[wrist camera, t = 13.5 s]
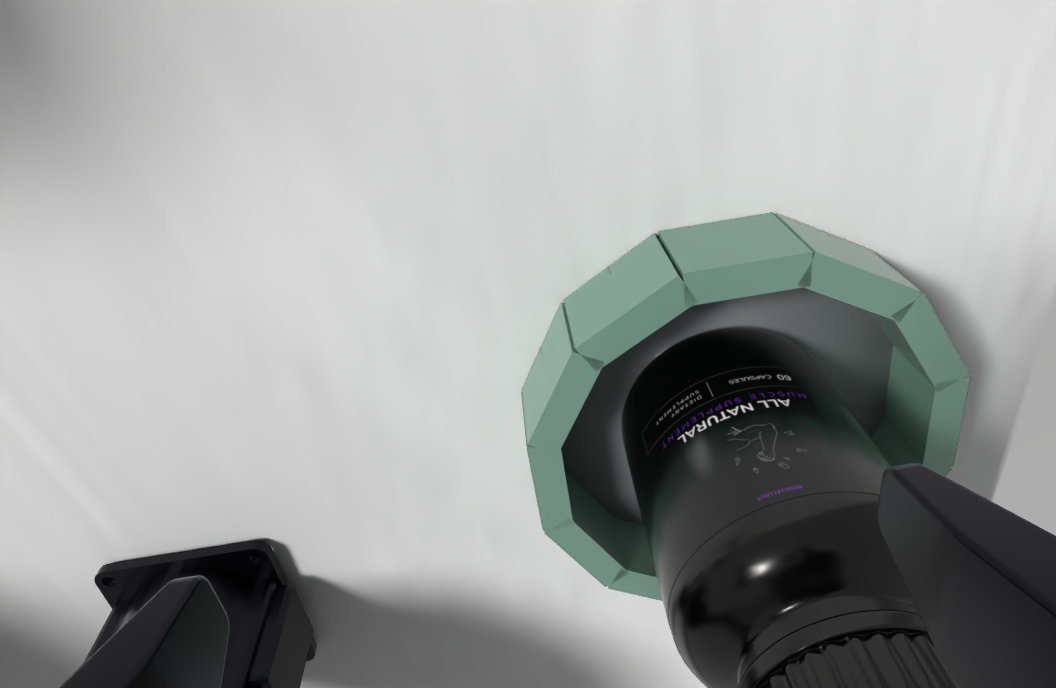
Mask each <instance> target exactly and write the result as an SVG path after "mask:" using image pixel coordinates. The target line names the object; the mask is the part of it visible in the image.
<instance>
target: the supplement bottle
mask: <svg viewBox="0 0 1056 688" xmlns="http://www.w3.org/2000/svg"><path fill="white" fill-rule="evenodd" d="M621 429H622V439H623V444H624V448H625V453H626V457H627V462H628V466H629V470H630V474H631V478H632V482H633V486H634V490H635V494H636V497H637V501H638V505H639V509H640V513H641V517H642V521H643V525H644V529H645V533H646V537H647V541H648V544H649V548H650V552H651V556H652V560H653V564H654V568H655V572H656V576H657V580H658V584H659V587H660V591H661V595H662V599H663V603H664V607H665V611H666V615H667V619H668V623H669V626H670V629H671V632H672V636H673V639H674V642H675V644H676V647H677V650H678V652H679V654H680V656H681V657H682V659H683V661H684V663H685V664H686V665H687V667H688V668H689V669H690V670H691V672H692V673H693V674H694V675H695V676H696V677H697V678H698V679H699V680H700V681H701V682H702V683H703V684H704V685H705V686H706V687H707V688H959V687H958V685H957V683H956V682H955V680H954V678H953V677H952V675H951V673H950V672H949V670H948V668H947V667H946V665H945V663H944V662H943V660H942V658H941V657H940V655H939V653H938V651H937V649H936V648H935V646H934V644H933V642H932V640H931V639H930V637H929V635H928V632H927V630H926V628H925V626H924V624H923V622H922V620H921V618H920V616H919V614H918V611H917V609H916V607H915V605H914V603H913V601H912V598H911V596H910V594H909V592H908V590H907V587H906V585H905V583H904V581H903V579H902V576H901V574H900V572H899V570H898V568H897V566H896V563H895V561H894V559H893V557H892V555H891V552H890V550H889V548H888V546H887V544H886V542H885V539H884V537H883V535H882V533H881V530H880V527H879V523H878V516H877V513H878V504H879V497H880V489H881V482H882V476H883V473H884V471H885V470H886V469H887V468H889V467H892V465H891V463H890V462H889V460H888V459H887V458H886V456H885V455H884V454H883V452H882V451H881V450H880V448H879V447H878V446H877V444H876V443H875V442H874V440H873V439H872V438H871V436H870V435H869V433H868V432H867V431H866V429H865V428H864V427H863V425H862V424H861V423H860V421H859V420H858V419H857V417H856V416H855V415H854V413H853V412H852V411H851V409H850V408H849V406H848V405H847V404H846V402H845V401H844V400H843V398H842V397H841V396H840V394H839V393H838V392H837V390H836V389H835V388H834V386H833V385H832V384H831V382H830V381H829V379H828V378H827V377H826V376H825V374H824V373H823V372H822V371H821V369H820V368H819V367H818V366H817V364H816V363H815V362H814V361H813V359H812V358H811V357H810V356H809V355H808V354H807V353H806V352H805V351H804V350H803V349H802V348H800V347H799V346H798V345H796V344H795V343H793V342H792V341H790V340H788V339H787V338H785V337H782V336H780V335H778V334H775V333H772V332H769V331H766V330H761V329H756V328H747V327H728V328H720V329H714V330H709V331H705V332H702V333H698V334H695V335H693V336H690V337H688V338H685V339H683V340H681V341H679V342H677V343H675V344H674V345H672V346H671V347H669V348H667V349H666V350H664V351H663V352H662V353H660V354H659V355H658V356H657V357H656V358H654V359H653V360H652V361H651V362H650V363H649V364H648V365H647V366H646V367H645V368H644V370H643V371H642V372H641V373H640V375H639V376H638V377H637V379H636V380H635V382H634V383H633V385H632V387H631V389H630V391H629V393H628V395H627V398H626V401H625V404H624V408H623V413H622V421H621Z"/></svg>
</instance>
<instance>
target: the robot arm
mask: <svg viewBox="0 0 1056 688" xmlns="http://www.w3.org/2000/svg"><path fill="white" fill-rule="evenodd" d="M877 516H878V523H879V527H880V530H881V533H882V535H883V537H884V539H885V542H886V544H887V546H888V548H889V550H890V552H891V555H892V557H893V559H894V561H895V563H896V566H897V568H898V570H899V572H900V574H901V576H902V579H903V581H904V583H905V585H906V587H907V590H908V592H909V594H910V596H911V598H912V601H913V603H914V605H915V607H916V609H917V611H918V614H919V616H920V618H921V620H922V622H923V624H924V626H925V628H926V630H927V632H928V635H929V637H930V639H931V640H932V642H933V644H934V646H935V648H936V649H937V651H938V653H939V655H940V657H941V658H942V660H943V662H944V663H945V665H946V667H947V668H948V670H949V672H950V673H951V675H952V677H953V678H954V680H955V682H956V683H957V685H958V687H959V688H1056V536H1055V535H1053V534H1051V533H1049V532H1047V531H1045V530H1044V529H1042V528H1040V527H1038V526H1036V525H1034V524H1032V523H1030V522H1028V521H1027V520H1025V519H1023V518H1021V517H1019V516H1017V515H1015V514H1014V513H1012V512H1010V511H1008V510H1006V509H1004V508H1002V507H1001V506H999V505H997V504H995V503H993V502H991V501H989V500H988V499H986V498H984V497H982V496H980V495H978V494H976V493H974V492H973V491H971V490H969V489H967V488H965V487H963V486H961V485H960V484H958V483H956V482H954V481H952V480H950V479H948V478H946V477H945V476H943V475H941V474H939V473H937V472H935V471H933V470H931V469H930V468H928V467H926V466H924V465H921V464H918V463H911V464H905V465H898V466H892V467H889V468H887V469H886V470H885V471H884V473H883V476H882V482H881V489H880V497H879V504H878V513H877ZM255 554H259V555H255ZM94 581H95V583H96V585H97V587H98V588H99V590H100V591H101V593H102V594H103V596H104V597H105V599H106V600H107V601H108V603H109V604H110V606H111V607H112V611H111V613H110V615H109V617H108V618H107V620H106V622H105V624H104V626H103V628H102V630H101V632H100V633H99V635H98V637H97V639H96V641H95V643H94V645H93V646H92V648H91V650H90V652H89V654H88V656H87V658H86V660H85V661H84V663H83V665H82V666H81V667H80V668H79V669H78V670H77V671H76V672H75V673H73V674H72V675H71V676H70V677H69V678H68V679H67V680H66V681H65V682H64V683H63V684H62V685H61V686H60V687H59V688H300V685H301V680H302V676H303V672H304V667H305V663H306V662H307V661H310V660H312V659H313V658H314V656H315V653H316V648H317V644H316V641H315V639H314V637H313V635H312V633H313V628H312V625H311V623H310V621H309V619H308V617H307V615H306V613H305V610H304V608H303V606H302V604H301V602H300V600H299V598H298V595H297V593H296V591H295V589H294V588H293V587H292V586H291V585H289V584H288V582H287V580H286V578H285V575H284V573H283V571H282V569H281V567H280V565H279V563H278V561H277V558H276V556H275V554H274V552H273V550H272V548H271V547H270V545H268V544H267V543H265V542H262V541H250V542H244V543H237V544H231V545H225V546H218V547H212V548H206V549H199V550H193V551H187V552H180V553H174V554H168V555H162V556H155V557H149V558H143V559H136V560H130V561H124V562H117V563H111V564H106V565H103V566H102V567H101V568H100V570H99V571H98V573H97V575H96V576H95V580H94Z"/></svg>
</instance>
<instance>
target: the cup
mask: <svg viewBox="0 0 1056 688" xmlns="http://www.w3.org/2000/svg"><path fill="white" fill-rule="evenodd" d="M658 237H659V238H657V237H656V235H655V234H652V235H651V236H650V237H648V238H647V239H646V240H644V241H643V242H642V243H640V244H639V245H637V246H636V247H635V248H633V249H632V250H631V251H629V252H628V253H627V254H625V255H624V256H622V257H621V258H620V259H618V260H617V261H616V262H614V263H613V264H612V265H610V266H609V267H607V268H606V269H605V270H603V271H602V272H601V273H599V274H598V275H597V276H595V277H594V278H592V279H591V280H590V281H588V282H587V283H586V284H584V285H583V286H582V287H580V288H579V289H577V290H576V291H575V292H573V293H572V294H571V295H569V296H568V297H567V298H565V299H564V304H563V303H561V304H560V306H559V308H558V311H557V313H556V315H555V317H554V319H553V322H552V324H551V326H550V328H549V330H548V333H547V335H546V337H545V339H544V341H543V344H542V346H541V348H540V350H539V352H538V355H537V357H536V359H535V361H534V363H533V366H532V368H531V370H530V372H529V374H528V377H527V379H526V381H525V383H524V385H523V388H522V392H521V393H522V403H523V414H524V424H525V434H526V445H527V452H528V457H529V462H530V467H531V472H532V477H533V482H534V488H535V493H536V498H537V503H538V508H539V513H540V518H541V523H542V528H543V530H544V532H545V534H546V535H547V536H548V537H549V538H551V539H552V540H553V541H554V542H555V543H556V544H557V545H558V546H560V547H561V548H562V549H563V550H564V551H565V552H566V553H568V554H569V555H570V556H571V557H572V558H573V559H574V560H575V561H577V562H578V563H579V564H580V565H581V566H582V567H583V568H584V569H586V570H587V571H588V572H589V573H590V574H591V575H592V576H594V577H595V578H596V579H597V580H598V581H599V582H600V583H601V584H603V585H604V586H605V587H606V586H608V589H613V590H617V591H622V592H626V593H630V594H635V595H639V596H644V597H648V598H652V599H657V600H661V601H663V599H662V595H661V591H660V587H659V584H658V580H657V576H656V572H655V568H654V564H653V560H652V556H651V552H650V548H649V544H648V541H647V537H646V533H645V529H644V525H643V521H642V517H641V513H640V509H639V505H638V501H637V497H636V494H635V490H634V486H633V482H632V478H631V474H630V470H629V466H628V462H627V457H626V453H625V448H624V444H623V439H622V429H621V421H622V413H623V408H624V404H625V401H626V398H627V395H628V393H629V391H630V389H631V387H632V385H633V383H634V382H635V380H636V379H637V377H638V376H639V375H640V373H641V372H642V371H643V370H644V368H645V367H646V366H647V365H648V364H649V363H650V362H651V361H652V360H653V359H654V358H656V357H657V356H658V355H659V354H660V353H662V352H663V351H664V350H666V349H667V348H669V347H671V346H672V345H674V344H675V343H677V342H679V341H681V340H683V339H685V338H688V337H690V336H693V335H695V334H698V333H702V332H705V331H709V330H714V329H720V328H728V327H747V328H756V329H761V330H766V331H769V332H772V333H775V334H778V335H780V336H782V337H785V338H787V339H788V340H790V341H792V342H793V343H795V344H796V345H798V346H799V347H800V348H802V349H803V350H804V351H805V352H806V353H807V354H808V355H809V356H810V357H811V358H812V359H813V361H814V362H815V363H816V364H817V366H818V367H819V368H820V369H821V371H822V372H823V373H824V374H825V376H826V377H827V378H828V379H829V381H830V382H831V384H832V385H833V386H834V388H835V389H836V390H837V392H838V393H839V394H840V396H841V397H842V398H843V400H844V401H845V402H846V404H847V405H848V406H849V408H850V409H851V411H852V412H853V413H854V415H855V416H856V417H857V419H858V420H859V421H860V423H861V424H862V425H863V427H864V428H865V429H866V431H867V432H868V433H869V435H870V436H871V438H872V439H873V440H874V442H875V443H876V444H877V446H878V447H879V448H880V450H881V451H882V452H883V454H884V455H885V456H886V458H887V459H888V460H889V462H890V463H891V465H892V466H898V465H905V464H911V463H918V464H921V465H924V466H926V467H928V468H930V469H931V470H933V471H935V472H937V473H939V474H941V475H943V476H946V475H947V474H948V473H949V472H950V470H951V468H950V467H949V466H953V465H954V460H955V455H956V450H957V445H958V439H959V434H960V429H961V424H962V419H963V414H964V409H965V404H966V398H967V393H968V388H969V383H970V378H971V377H970V376H969V374H970V373H969V371H968V369H967V368H966V366H965V364H964V362H963V361H962V359H961V357H960V355H959V353H958V352H957V350H956V348H955V346H954V345H953V343H952V341H951V339H950V338H949V336H948V334H947V332H946V330H945V329H944V327H943V325H942V323H941V322H940V320H939V318H938V316H937V315H936V313H935V311H934V309H933V308H932V306H931V304H930V302H929V300H928V299H927V297H926V295H925V294H924V293H923V292H922V291H920V290H919V289H918V288H917V287H916V286H914V285H913V284H912V283H911V282H909V281H908V280H907V279H906V278H904V277H903V276H902V275H901V274H900V273H898V272H897V271H896V270H895V269H893V268H892V267H891V266H890V265H888V264H887V263H886V262H885V261H884V260H882V259H881V258H880V257H879V256H877V255H876V254H875V253H874V252H872V251H871V250H870V249H868V248H865V247H863V246H860V245H857V244H855V243H852V242H850V241H847V240H844V239H842V238H839V237H837V236H834V235H832V234H829V233H826V232H824V231H821V230H819V229H816V228H813V227H811V226H808V225H806V224H803V223H800V222H798V221H795V220H793V219H790V218H787V217H785V216H782V215H780V214H777V213H776V214H775V215H774V214H773V213H766V214H760V215H754V216H748V217H742V218H736V219H730V220H724V221H718V222H712V223H706V224H700V225H694V226H688V227H682V228H676V229H670V230H664V231H658Z"/></svg>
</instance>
